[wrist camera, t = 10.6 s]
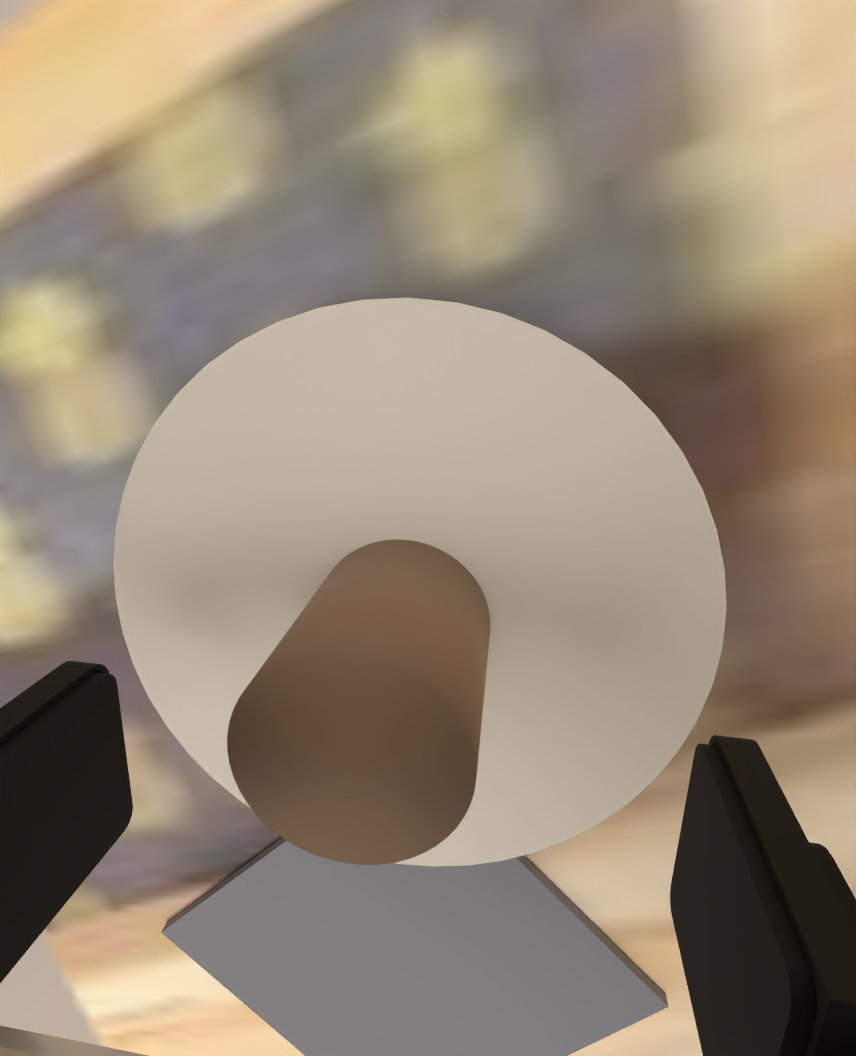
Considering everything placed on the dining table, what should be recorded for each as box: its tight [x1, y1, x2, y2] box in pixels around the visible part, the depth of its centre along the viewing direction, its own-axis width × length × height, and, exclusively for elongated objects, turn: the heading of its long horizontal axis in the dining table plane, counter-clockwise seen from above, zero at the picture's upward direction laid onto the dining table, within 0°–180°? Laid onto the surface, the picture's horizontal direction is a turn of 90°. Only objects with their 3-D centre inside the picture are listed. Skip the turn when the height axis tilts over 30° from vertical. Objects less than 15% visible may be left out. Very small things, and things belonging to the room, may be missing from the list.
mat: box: [162, 838, 668, 1056], centre depth 27 cm, size 15×15×1 cm
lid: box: [113, 298, 726, 867], centre depth 13 cm, size 14×14×6 cm
